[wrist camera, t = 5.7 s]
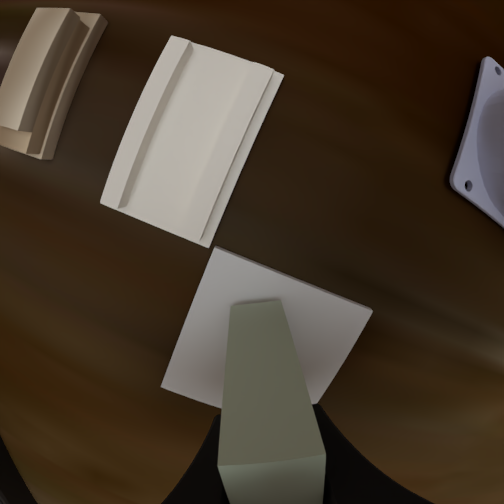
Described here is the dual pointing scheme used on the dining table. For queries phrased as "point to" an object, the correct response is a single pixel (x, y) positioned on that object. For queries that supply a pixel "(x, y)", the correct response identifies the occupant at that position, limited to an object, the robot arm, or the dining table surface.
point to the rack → (189, 139)
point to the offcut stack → (45, 78)
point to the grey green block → (267, 414)
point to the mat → (257, 291)
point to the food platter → (12, 481)
